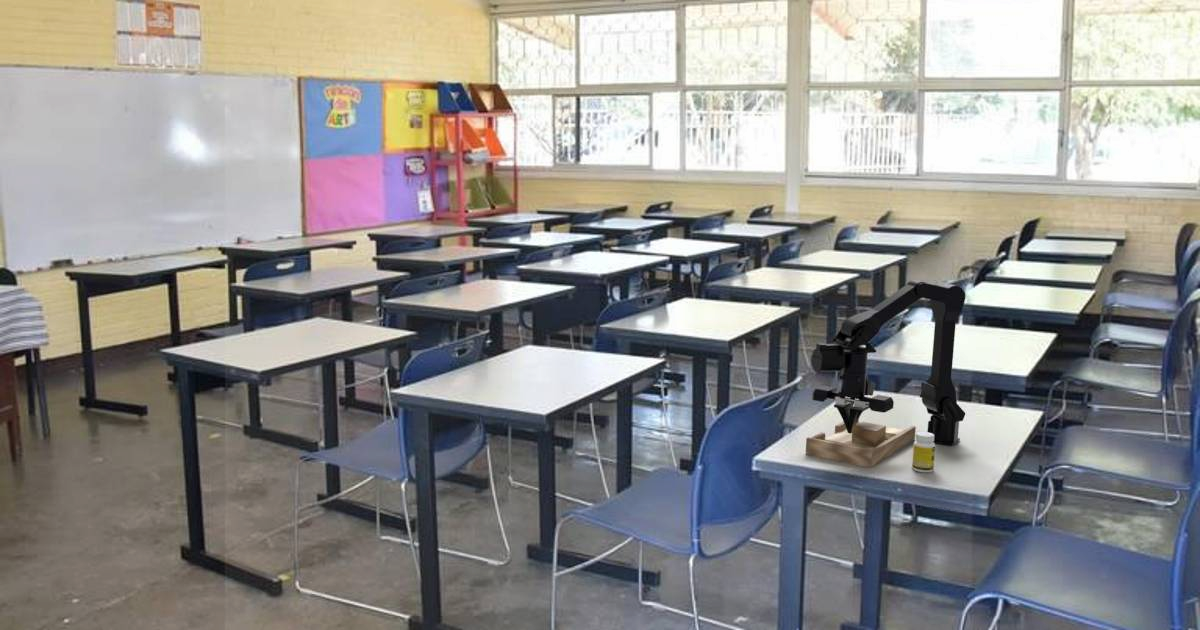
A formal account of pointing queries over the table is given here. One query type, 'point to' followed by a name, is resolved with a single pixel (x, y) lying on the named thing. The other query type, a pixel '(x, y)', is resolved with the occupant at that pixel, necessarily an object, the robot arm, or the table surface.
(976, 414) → the table surface
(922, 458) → the supplement bottle
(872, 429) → the block
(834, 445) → the box
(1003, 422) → the table surface
